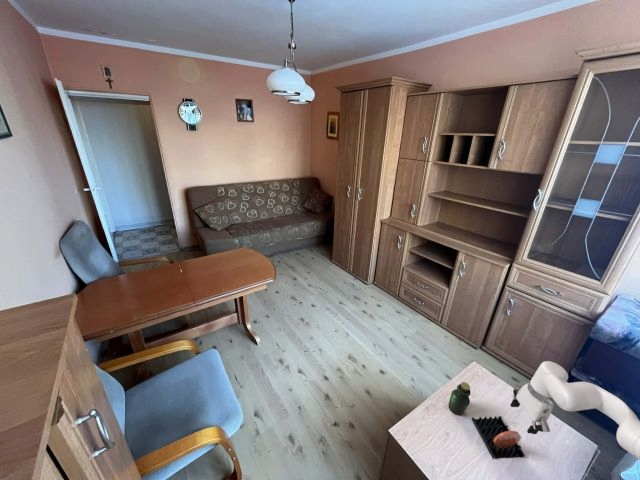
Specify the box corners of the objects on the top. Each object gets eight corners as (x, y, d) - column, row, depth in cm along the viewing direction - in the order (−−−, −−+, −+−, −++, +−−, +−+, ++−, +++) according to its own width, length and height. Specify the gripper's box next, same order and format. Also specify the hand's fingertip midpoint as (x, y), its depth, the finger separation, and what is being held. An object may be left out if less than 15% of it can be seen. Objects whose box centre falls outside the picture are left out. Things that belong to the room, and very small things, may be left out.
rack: (523, 458, 112) (528, 451, 110) (492, 459, 111) (496, 452, 109) (498, 419, 127) (502, 412, 124) (470, 419, 126) (474, 413, 123)
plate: (514, 448, 115) (525, 432, 110) (490, 449, 114) (500, 433, 109) (513, 445, 116) (523, 430, 111) (489, 446, 115) (498, 431, 110)
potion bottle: (445, 412, 128) (455, 388, 120) (447, 398, 135) (456, 374, 127) (463, 421, 125) (475, 397, 117) (464, 406, 131) (475, 383, 123)
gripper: (571, 416, 88) (548, 444, 95) (533, 370, 103) (516, 397, 111) (549, 415, 87) (528, 443, 95) (514, 369, 103) (499, 396, 111)
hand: (522, 418), depth 103 cm, fingers open, 9 cm apart
